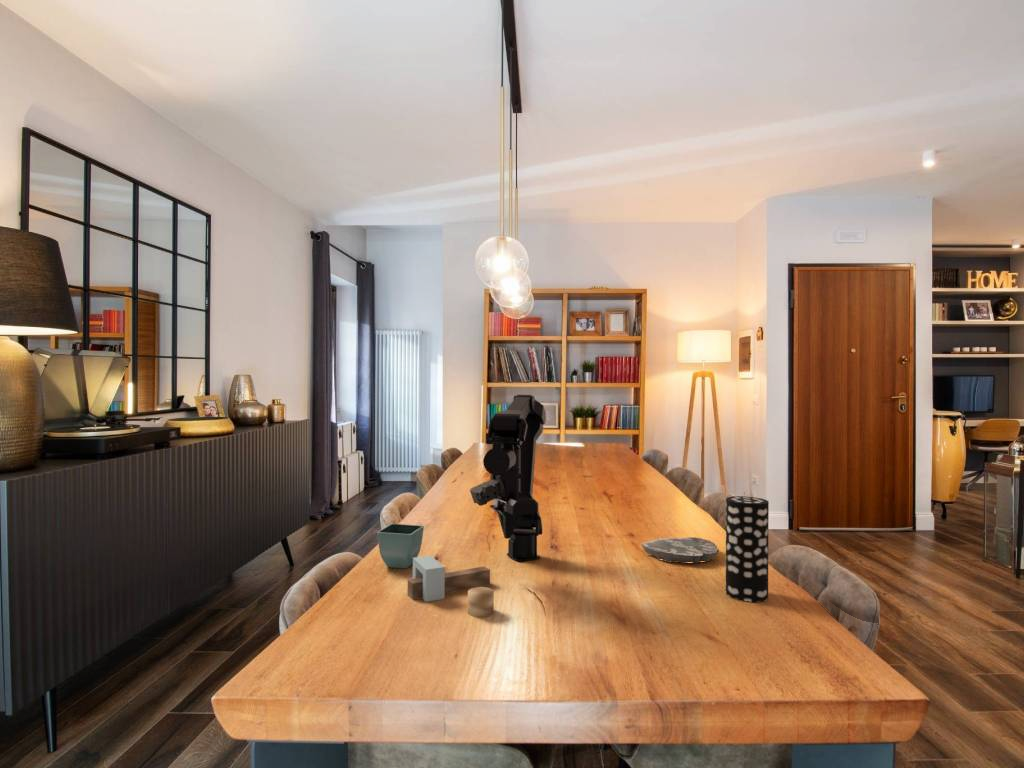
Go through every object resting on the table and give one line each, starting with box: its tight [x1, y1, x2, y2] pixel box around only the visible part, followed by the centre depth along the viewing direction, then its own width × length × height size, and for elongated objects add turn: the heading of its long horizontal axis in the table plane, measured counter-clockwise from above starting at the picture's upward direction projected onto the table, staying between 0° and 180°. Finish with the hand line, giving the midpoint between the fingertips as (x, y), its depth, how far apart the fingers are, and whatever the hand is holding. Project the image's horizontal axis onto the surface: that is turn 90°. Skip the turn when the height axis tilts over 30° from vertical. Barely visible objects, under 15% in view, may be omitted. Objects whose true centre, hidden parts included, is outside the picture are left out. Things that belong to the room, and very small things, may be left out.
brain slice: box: [641, 536, 720, 563], centre depth 149 cm, size 20×17×3 cm
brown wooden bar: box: [407, 566, 491, 601], centre depth 124 cm, size 18×3×4 cm, turn 120°
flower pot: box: [376, 523, 425, 569], centre depth 141 cm, size 9×9×9 cm
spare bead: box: [467, 586, 495, 618], centre depth 112 cm, size 5×5×4 cm
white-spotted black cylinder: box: [725, 495, 770, 603], centre depth 122 cm, size 8×8×20 cm
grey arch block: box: [412, 555, 446, 602], centre depth 122 cm, size 4×9×6 cm, turn 27°
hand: (507, 538), depth 130 cm, fingers closed
